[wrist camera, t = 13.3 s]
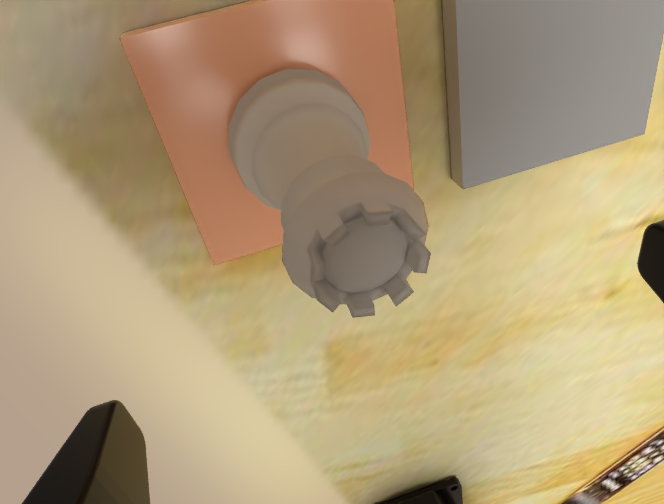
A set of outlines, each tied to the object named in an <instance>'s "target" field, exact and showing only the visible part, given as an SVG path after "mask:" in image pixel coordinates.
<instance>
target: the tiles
mask: <svg viewBox="0 0 664 504" xmlns="http://www.w3.org/2000/svg"><path fill="white" fill-rule="evenodd" d="M442 8H443V27H444V46H445V64H446V83H447V101H448V120H449V138H450V157H451V176H452V180H453V181H454V182H456V183H457V184H458V185H459V186H460V187H461V188H462V189H466V188H469V187H472V186H476V185H479V184H482V183H485V182H489V181H492V180H495V179H499V178H502V177H505V176H508V175H512V174H515V173H518V172H521V171H525V170H528V169H531V168H535V167H538V166H541V165H544V164H548V163H551V162H554V161H558V160H561V159H564V158H567V157H571V156H574V155H577V154H581V153H584V152H587V151H590V150H594V149H597V148H600V147H603V146H607V145H610V144H613V143H617V142H620V141H623V140H626V139H630V138H633V137H636V136H640V135H643V134H645V129H646V123H647V118H648V113H649V108H650V102H651V97H652V92H653V87H654V81H655V76H656V71H657V66H658V60H659V55H660V50H661V45H662V39H663V34H664V0H442ZM119 39H120V41H121V43H122V46H123V48H124V51H125V53H126V55H127V58H128V60H129V63H130V65H131V67H132V70H133V72H134V75H135V77H136V79H137V82H138V84H139V87H140V89H141V91H142V94H143V96H144V99H145V101H146V103H147V106H148V108H149V111H150V113H151V115H152V118H153V120H154V123H155V125H156V127H157V130H158V132H159V135H160V137H161V140H162V142H163V144H164V147H165V149H166V152H167V154H168V156H169V159H170V161H171V164H172V166H173V168H174V171H175V173H176V176H177V178H178V180H179V183H180V185H181V188H182V190H183V192H184V195H185V197H186V200H187V202H188V204H189V207H190V209H191V212H192V214H193V216H194V219H195V221H196V224H197V226H198V228H199V231H200V233H201V236H202V238H203V240H204V243H205V245H206V248H207V250H208V252H209V255H210V257H211V260H212V262H213V264H214V265H216V264H220V263H223V262H226V261H230V260H233V259H236V258H239V257H243V256H246V255H249V254H253V253H256V252H259V251H262V250H266V249H269V248H272V247H275V246H279V245H282V244H283V233H284V230H283V227H282V225H281V211H280V210H277V209H274V208H271V207H269V206H266V205H265V204H264V203H263V202H262V201H260V200H259V199H258V198H257V197H256V196H255V195H254V194H253V193H251V192H250V191H249V190H248V189H247V188H246V187H245V186H244V184H243V182H242V180H241V178H240V176H239V173H238V171H237V169H236V167H235V165H234V163H233V160H232V158H231V156H230V154H229V128H228V126H229V124H230V121H231V119H232V116H233V114H234V111H235V109H236V106H237V104H238V101H239V99H240V98H241V97H242V96H243V95H245V94H246V93H247V92H248V91H249V90H250V89H251V88H252V87H253V86H254V85H255V84H256V83H257V82H258V81H259V80H260V79H262V78H264V77H267V76H269V75H272V74H275V73H277V72H280V71H282V70H285V69H312V70H317V71H319V72H321V73H323V74H325V75H327V76H329V77H331V78H333V79H335V80H337V81H339V82H341V84H342V85H343V86H344V87H345V89H346V90H347V91H348V92H349V93H350V95H351V96H352V97H353V98H354V100H355V101H356V102H357V105H358V106H359V107H360V108H361V109H362V111H363V113H364V117H365V120H366V124H367V128H368V131H369V135H370V148H369V156H368V161H370V162H373V163H375V164H377V165H378V167H379V168H380V169H381V170H382V171H383V172H384V173H385V174H387V175H390V176H392V177H394V178H397V179H399V180H401V181H404V182H406V183H408V185H409V186H410V187H411V188H412V189H413V190H414V186H413V176H412V167H411V157H410V148H409V138H408V129H407V119H406V110H405V100H404V91H403V81H402V72H401V62H400V53H399V43H398V34H397V24H396V15H395V5H394V0H252V1H248V2H244V3H240V4H236V5H232V6H228V7H224V8H220V9H216V10H212V11H208V12H204V13H200V14H196V15H192V16H188V17H184V18H180V19H176V20H172V21H168V22H164V23H160V24H156V25H152V26H148V27H144V28H140V29H136V30H132V31H128V32H124V33H123V34H122V35H121V37H120V38H119Z"/></svg>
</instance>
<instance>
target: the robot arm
mask: <svg viewBox="0 0 664 504" xmlns="http://www.w3.org/2000/svg"><path fill="white" fill-rule="evenodd" d="M637 264H638V270H639V272H640V274H641V276H642V277H643V279H644V280H645V281H646V282H647V284H648V285H649V286H650V287H651V288H652V290H653V291H654V292H655V293H656V294H657V296H658V297H659V298H660V299H661V300H662V302H663V303H664V220H662V221H659V222H656V223H653V224H651V225H649V226H648V227H647V228H646V229H645V231H644V235H643V239H642V244H641V248H640V253H639V257H638V263H637ZM22 504H150V497H149V484H148V471H147V458H146V445H145V440H144V436H143V433H142V431H141V430H140V428H139V426H138V425H137V424H136V422H135V421H134V419H133V418H132V416H131V415H130V414H129V412H128V411H127V409H126V408H125V406H124V405H123V404H122V403H121V402H119V401H118V400H112V401H109V402H106V403H103V404H100V405H97V406H94V407H92V408H90V409H89V410H88V411H87V412H86V413H85V415H84V416H83V418H82V419H81V421H80V422H79V423H78V425H77V426H76V428H75V429H74V430H73V432H72V433H71V435H70V436H69V438H68V439H67V440H66V442H65V443H64V445H63V446H62V447H61V449H60V450H59V452H58V453H57V454H56V456H55V457H54V459H53V460H52V462H51V463H50V465H49V466H48V467H47V469H46V470H45V472H44V473H43V474H42V476H41V477H40V479H39V480H38V481H37V483H36V484H35V486H34V487H33V489H32V490H31V491H30V493H29V494H28V496H27V497H26V499H25V500H24V502H23V503H22ZM384 504H463V502H462V488H461V484H460V482H459V480H458V479H457V478H452V479H449V480H446V481H444V482H441V483H438V484H436V485H433V486H430V487H427V488H425V489H422V490H419V491H417V492H414V493H411V494H408V495H406V496H403V497H400V498H398V499H395V500H392V501H389V502H387V503H384Z"/></svg>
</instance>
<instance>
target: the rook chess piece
mask: <svg viewBox="0 0 664 504" xmlns="http://www.w3.org/2000/svg"><path fill="white" fill-rule="evenodd" d="M228 128H229V154H230V156H231V158H232V160H233V163H234V165H235V167H236V169H237V171H238V173H239V176H240V178H241V180H242V182H243V184H244V186H245V187H246V188H247V189H248V190H249V191H250V192H251V193H253V194H254V195H255V196H256V197H257V198H258V199H259V200H260V201H262V202H263V203H264V204H265V205H266V206H269V207H271V208H274V209H277V210H280V211H281V225H282V227H283V230H284V233H283V250H282V261H283V263H284V265H285V267H286V270H287V272H288V274H289V276H290V278H291V280H292V282H293V283H294V284H295V285H296V286H298V287H299V288H300V289H301V290H303V291H304V292H305V293H307V294H308V295H309V296H310V297H312V298H316V299H317V300H318V301H319V302H320V303H321V304H323V305H324V306H325V307H326V308H328V309H329V310H330V311H331V312H333V311H334V310H335V309H336V308H337V307H338V306H339V305H340V304H347V306H348V308H349V310H350V313H351V315H352V317H363V316H373V315H375V311H374V304H373V302H372V300H375V299H377V298H379V297H382V296H384V295H387V294H389V296H390V298H391V299H392V301H393V302H394V304H395V306H397V305H398V304H400V303H401V302H402V301H403V300H405V299H406V298H407V297H408V296H410V295H411V294H412V293H413V292H414V291H413V290H412V288H411V287H410V285H409V284H408V282H407V281H406V278H407V277H408V275H409V274H410V272H411V271H412V270H413V271H414V272H417V273H426V272H427V268H428V263H429V259H430V255H431V253H430V252H429V250H428V249H427V248H426V247H425V240H426V235H427V231H428V222H427V217H426V212H425V208H424V203H423V201H422V200H421V199H420V198H419V196H418V195H417V194H416V193H415V192H414V190H413V189H412V188H411V187H410V186H409V185H408V183H406V182H404V181H401V180H399V179H397V178H394V177H392V176H390V175H387V174H385V173H384V172H383V171H382V170H381V169H380V168H379V167H378V165H377V164H375V163H373V162H370V161H368V156H369V148H370V135H369V131H368V128H367V124H366V120H365V117H364V113H363V111H362V109H361V108H360V107H359V106H358V105H357V102H356V101H355V100H354V98H353V97H352V96H351V95H350V93H349V92H348V91H347V90H346V89H345V87H344V86H343V85H342V84H341V82H339V81H337V80H335V79H333V78H331V77H329V76H327V75H325V74H323V73H321V72H319V71H317V70H312V69H285V70H282V71H280V72H277V73H275V74H272V75H269V76H267V77H264V78H262V79H260V80H259V81H258V82H257V83H256V84H255V85H254V86H253V87H252V88H251V89H250V90H249V91H248V92H247V93H246V94H245V95H243V96H242V97H241V98H240V99H239V101H238V104H237V106H236V109H235V111H234V114H233V116H232V119H231V121H230V124H229V126H228Z"/></svg>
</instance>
